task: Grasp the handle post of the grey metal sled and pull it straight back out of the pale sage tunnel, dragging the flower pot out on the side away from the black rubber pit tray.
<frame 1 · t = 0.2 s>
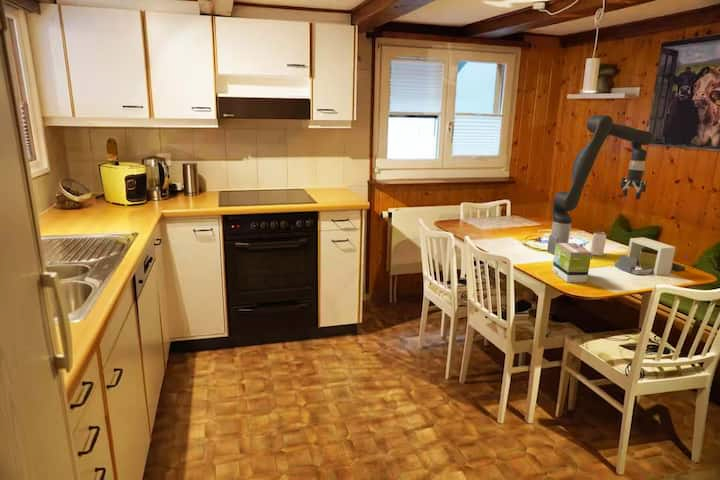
hand: (630, 197, 271), 29 cm above the table, fingers open, 8 cm apart
pit tray: (668, 266, 248), on the table
can: (596, 254, 265), on the table
tea box: (568, 277, 228), on the table
sled: (643, 261, 242), point 4 cm above the table, slide at 0.0 cm
tunnel: (647, 268, 244), on the table
flower pot: (646, 269, 244), resting in sled
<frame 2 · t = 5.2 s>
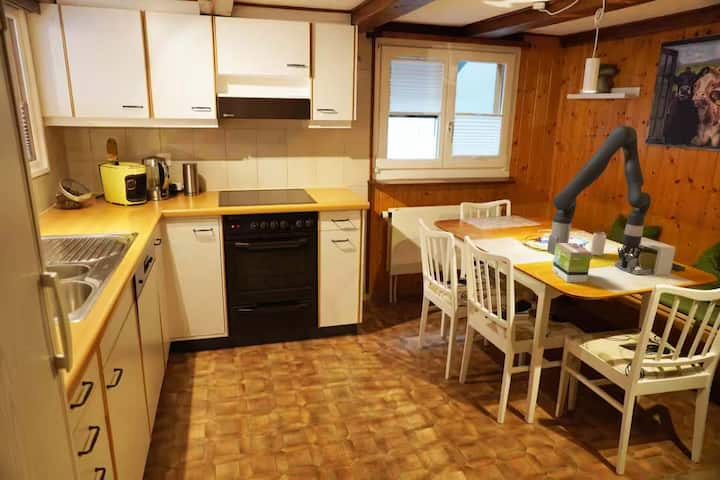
hand: (626, 267, 239), 2 cm above the table, fingers closed on sled, 3 cm apart
sled: (643, 261, 242), point 4 cm above the table, slide at 0.0 cm, touching gripper
everything else where it was.
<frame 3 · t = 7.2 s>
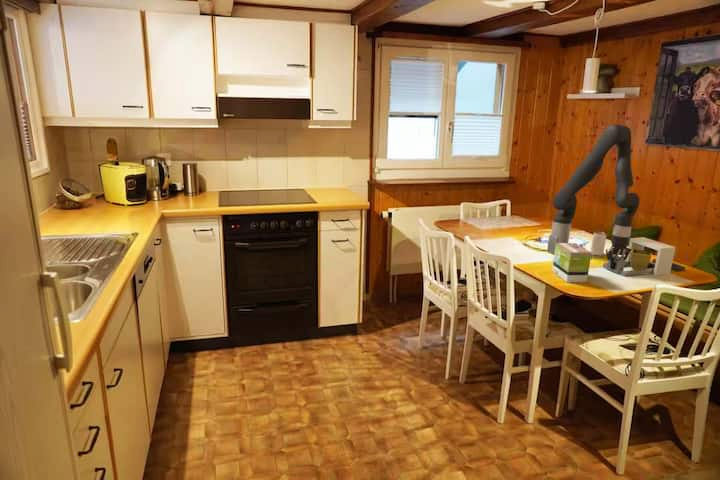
hand: (615, 268, 237), 2 cm above the table, fingers closed on sled, 3 cm apart
sled: (631, 262, 239), point 4 cm above the table, slide at 7.3 cm, touching gripper
flower pot: (638, 269, 242), resting in sled
everything else where it was.
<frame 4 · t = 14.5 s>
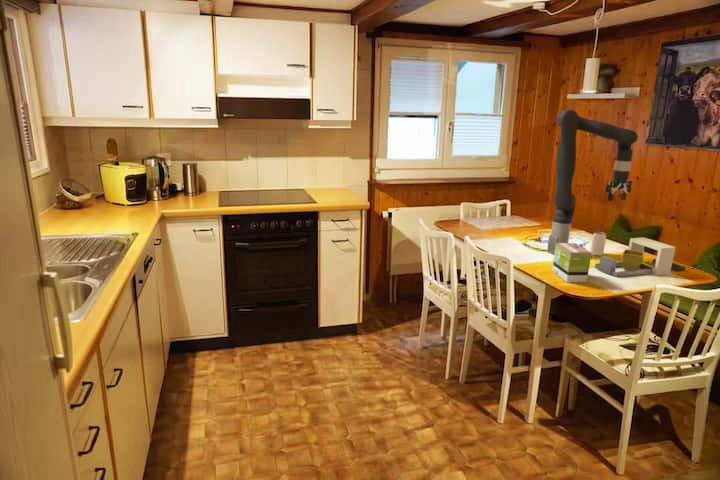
hand: (616, 200, 256), 30 cm above the table, fingers open, 8 cm apart
sled: (623, 263, 238), point 4 cm above the table, slide at 12.4 cm
flower pot: (630, 270, 241), resting in sled
everything else where it was.
at the end: flower pot inside the target area (1.4 cm from its centre), resting in sled; flower pot tilted 0°; sled slide at 12.4 cm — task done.
